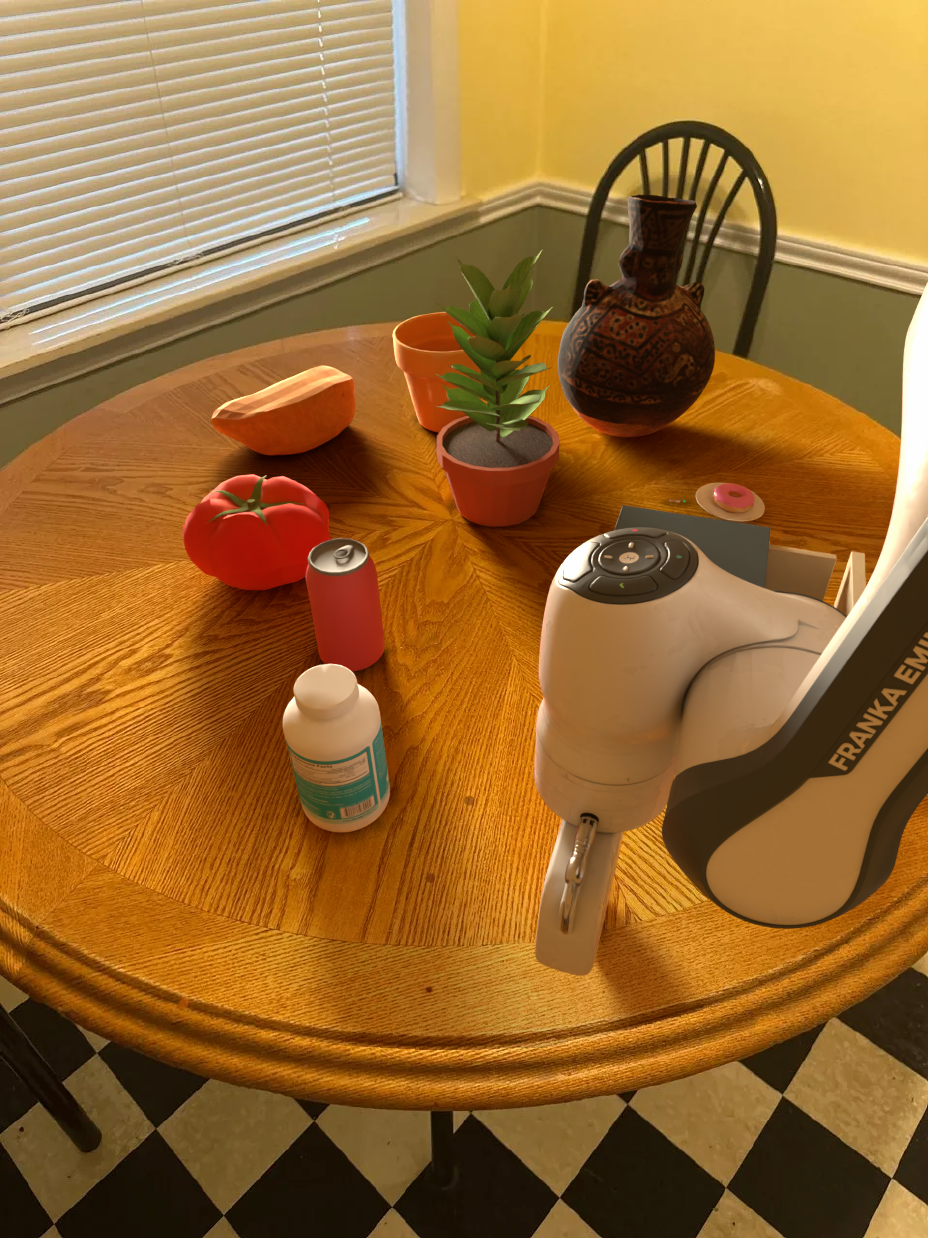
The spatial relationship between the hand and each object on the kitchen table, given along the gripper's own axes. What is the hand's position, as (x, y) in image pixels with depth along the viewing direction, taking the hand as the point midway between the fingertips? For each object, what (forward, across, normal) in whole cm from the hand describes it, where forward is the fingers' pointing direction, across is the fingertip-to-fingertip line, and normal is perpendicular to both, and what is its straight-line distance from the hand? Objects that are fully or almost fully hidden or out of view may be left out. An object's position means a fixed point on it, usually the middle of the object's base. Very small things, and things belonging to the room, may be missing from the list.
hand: (589, 884), depth 63 cm
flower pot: (+2, +70, +35) cm, 78 cm away
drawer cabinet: (+2, +33, -2) cm, 33 cm away
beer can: (+2, +20, +28) cm, 34 cm away
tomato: (+2, +30, +43) cm, 52 cm away
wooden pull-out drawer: (+1, +33, -14) cm, 36 cm away
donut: (+2, +57, -4) cm, 57 cm away
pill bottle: (+2, +3, +21) cm, 21 cm away
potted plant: (+2, +50, +22) cm, 55 cm away
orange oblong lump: (+2, +59, +55) cm, 81 cm away
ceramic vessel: (+2, +75, +10) cm, 76 cm away
